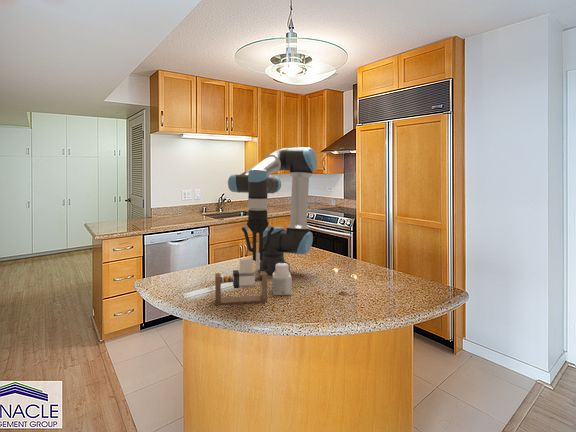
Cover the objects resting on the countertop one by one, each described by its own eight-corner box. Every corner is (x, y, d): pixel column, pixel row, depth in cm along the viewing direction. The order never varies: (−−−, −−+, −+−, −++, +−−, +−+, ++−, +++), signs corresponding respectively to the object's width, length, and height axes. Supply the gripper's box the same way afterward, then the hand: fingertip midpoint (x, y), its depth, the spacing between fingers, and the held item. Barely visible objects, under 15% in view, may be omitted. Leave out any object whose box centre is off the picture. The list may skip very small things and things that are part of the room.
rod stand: (264, 296, 142) (265, 270, 141) (267, 302, 136) (267, 274, 135) (215, 299, 138) (215, 272, 137) (215, 305, 132) (215, 277, 131)
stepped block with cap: (253, 283, 140) (253, 257, 139) (254, 287, 135) (254, 260, 133) (238, 283, 139) (238, 257, 138) (239, 288, 133) (239, 261, 132)
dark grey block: (238, 283, 139) (238, 270, 138) (239, 288, 133) (239, 273, 133) (233, 284, 138) (233, 270, 138) (233, 288, 133) (233, 274, 132)
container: (272, 289, 152) (272, 260, 151) (289, 289, 153) (290, 260, 151) (273, 295, 144) (273, 264, 143) (291, 294, 145) (291, 264, 144)
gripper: (272, 208, 139) (271, 265, 142) (240, 208, 137) (240, 266, 139) (275, 210, 132) (275, 270, 135) (241, 210, 129) (241, 271, 132)
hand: (257, 268), depth 137 cm, fingers closed
